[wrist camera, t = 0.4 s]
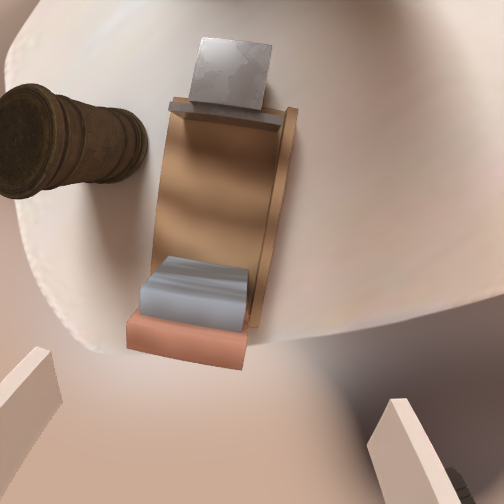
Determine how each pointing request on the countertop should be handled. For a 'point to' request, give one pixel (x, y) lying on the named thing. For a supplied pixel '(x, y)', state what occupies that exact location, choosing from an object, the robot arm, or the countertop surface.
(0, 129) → the container
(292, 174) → the countertop surface
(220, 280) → the rack
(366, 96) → the countertop surface
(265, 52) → the bookend
